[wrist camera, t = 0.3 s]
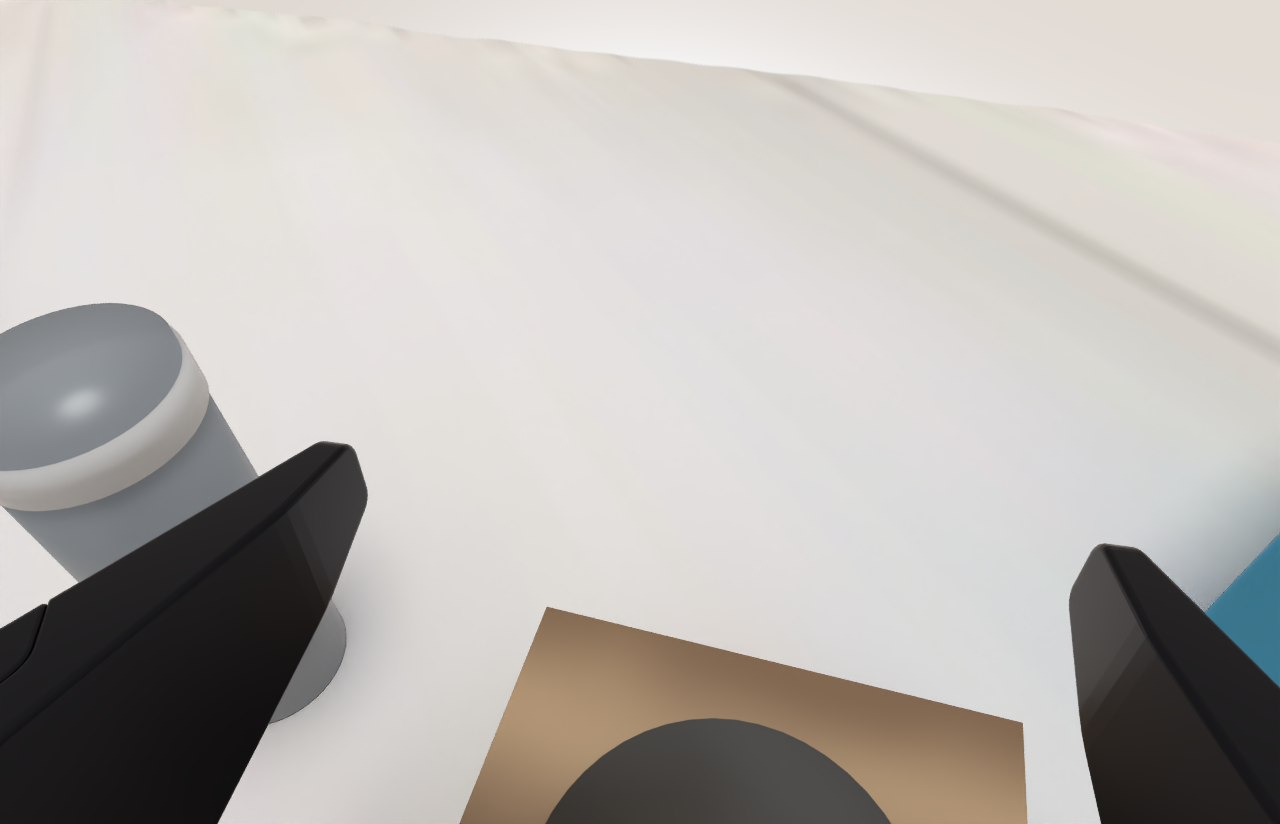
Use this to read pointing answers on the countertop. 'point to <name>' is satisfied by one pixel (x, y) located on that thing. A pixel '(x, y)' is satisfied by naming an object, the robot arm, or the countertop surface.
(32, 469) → the grey bottle
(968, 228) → the countertop surface
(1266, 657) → the data package
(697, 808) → the stand
